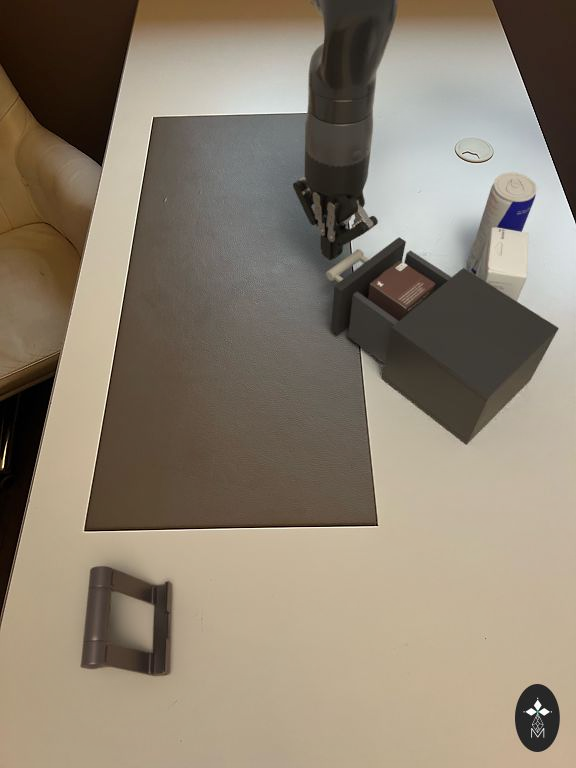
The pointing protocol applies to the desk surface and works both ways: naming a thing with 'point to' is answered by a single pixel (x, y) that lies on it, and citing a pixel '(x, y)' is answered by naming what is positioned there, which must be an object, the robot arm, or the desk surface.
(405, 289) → the box
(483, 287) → the cabinet
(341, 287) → the drawer
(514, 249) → the ink box
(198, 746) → the desk surface
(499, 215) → the beverage can
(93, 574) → the tablet stand
